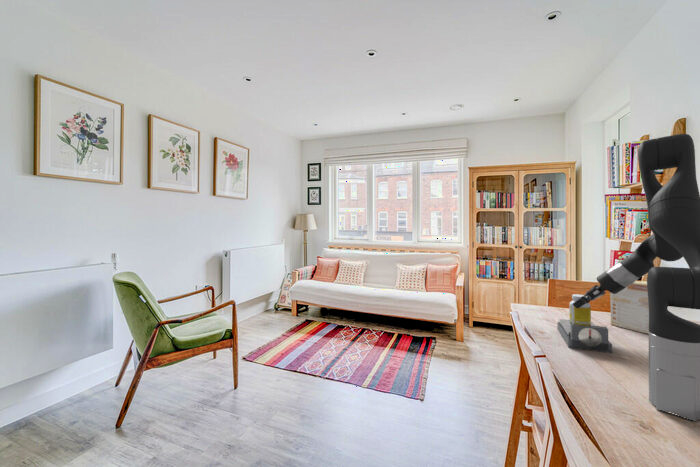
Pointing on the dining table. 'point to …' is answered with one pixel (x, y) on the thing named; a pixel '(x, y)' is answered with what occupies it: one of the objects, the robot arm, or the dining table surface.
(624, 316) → the coffeecake box
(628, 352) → the dining table surface
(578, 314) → the pill bottle
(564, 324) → the pan
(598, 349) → the kitchen scale
